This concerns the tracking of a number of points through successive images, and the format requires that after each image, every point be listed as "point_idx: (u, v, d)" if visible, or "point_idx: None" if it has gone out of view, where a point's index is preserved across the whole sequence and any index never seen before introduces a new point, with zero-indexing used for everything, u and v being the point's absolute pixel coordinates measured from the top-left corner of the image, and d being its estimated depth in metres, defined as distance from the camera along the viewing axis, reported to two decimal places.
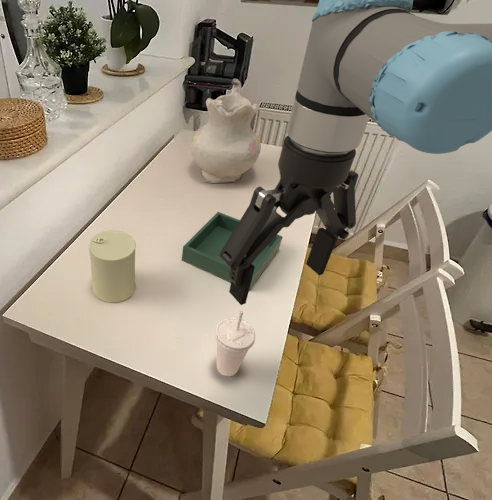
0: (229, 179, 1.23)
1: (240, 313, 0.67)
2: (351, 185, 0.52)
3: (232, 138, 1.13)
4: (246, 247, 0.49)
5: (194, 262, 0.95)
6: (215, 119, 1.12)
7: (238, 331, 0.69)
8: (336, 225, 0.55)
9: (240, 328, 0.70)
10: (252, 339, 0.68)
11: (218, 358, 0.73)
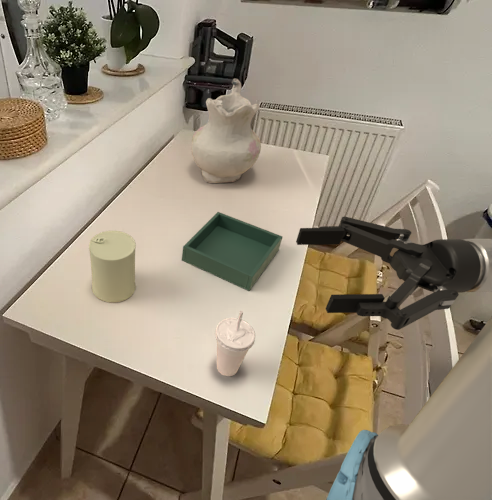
0: (229, 179, 1.23)
1: (240, 313, 0.67)
2: (445, 292, 0.55)
3: (232, 138, 1.13)
4: (363, 222, 0.66)
5: (194, 262, 0.95)
6: (215, 119, 1.12)
7: (238, 331, 0.69)
8: (399, 293, 0.55)
9: (240, 328, 0.70)
10: (252, 339, 0.68)
11: (218, 358, 0.73)
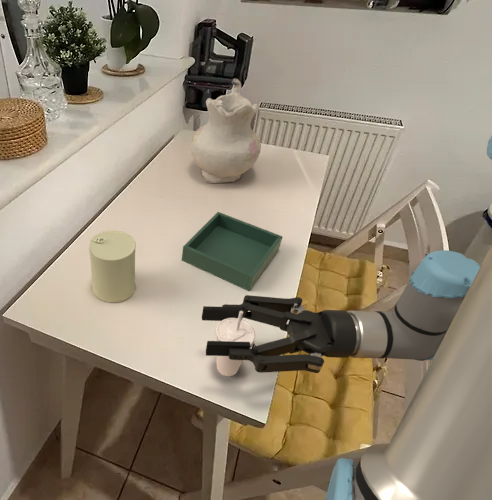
0: (229, 179, 1.23)
1: (240, 313, 0.67)
2: (312, 358, 0.64)
3: (232, 138, 1.13)
4: (263, 298, 0.73)
5: (194, 262, 0.95)
6: (215, 119, 1.12)
7: (238, 331, 0.69)
8: (267, 345, 0.66)
9: (240, 328, 0.70)
10: (252, 339, 0.68)
11: (218, 358, 0.73)
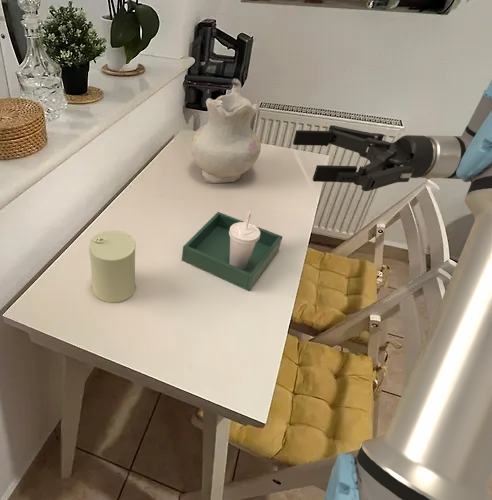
0: (229, 179, 1.23)
1: (249, 213, 0.87)
2: (404, 167, 0.72)
3: (232, 138, 1.13)
4: (347, 129, 0.83)
5: (194, 262, 0.95)
6: (215, 119, 1.12)
7: (247, 230, 0.89)
8: (368, 166, 0.72)
9: (248, 228, 0.90)
10: (258, 235, 0.88)
11: (231, 255, 0.92)
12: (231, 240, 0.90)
